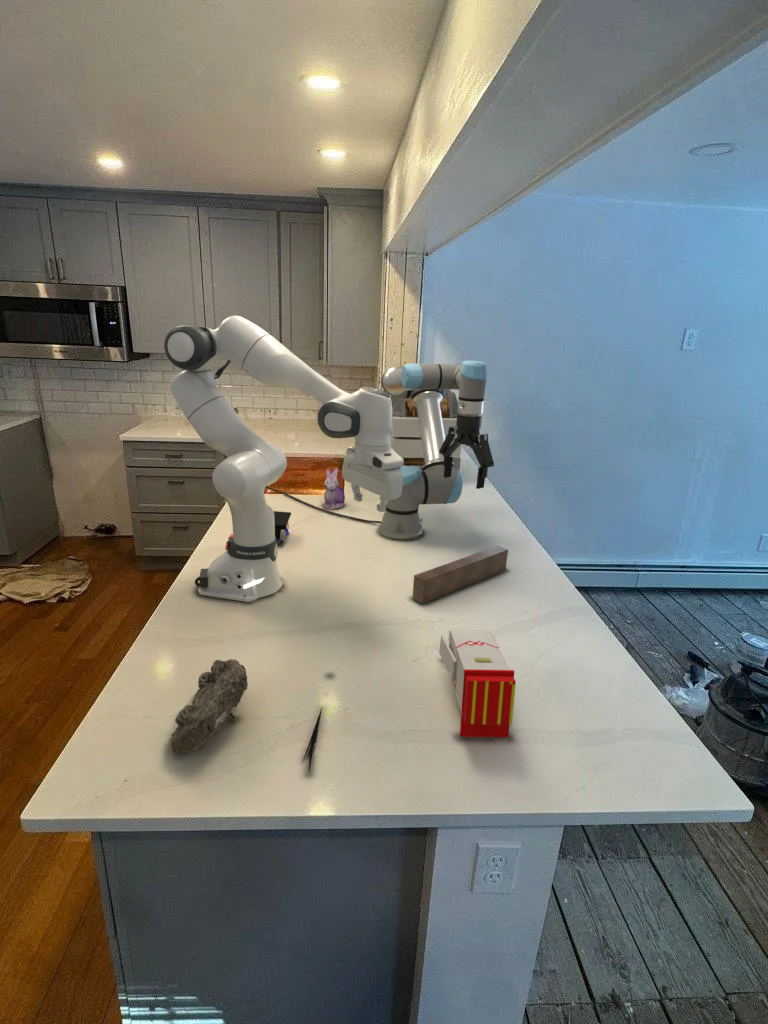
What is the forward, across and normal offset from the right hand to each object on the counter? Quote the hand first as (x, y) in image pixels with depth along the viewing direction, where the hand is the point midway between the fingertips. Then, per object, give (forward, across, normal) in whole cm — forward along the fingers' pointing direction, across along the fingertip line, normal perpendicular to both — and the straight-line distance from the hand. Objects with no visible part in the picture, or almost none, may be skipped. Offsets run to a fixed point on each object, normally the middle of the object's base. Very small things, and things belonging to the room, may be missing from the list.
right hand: (463, 482), depth 177 cm
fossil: (+25, +25, -95) cm, 101 cm away
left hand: (-2, +5, -42) cm, 42 cm away
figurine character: (+25, -44, -40) cm, 64 cm away
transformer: (+25, -77, +57) cm, 99 cm away
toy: (+25, +50, -50) cm, 75 cm away
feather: (+24, +38, -80) cm, 92 cm away
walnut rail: (+25, +15, -14) cm, 32 cm away
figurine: (+25, -61, -5) cm, 66 cm away
